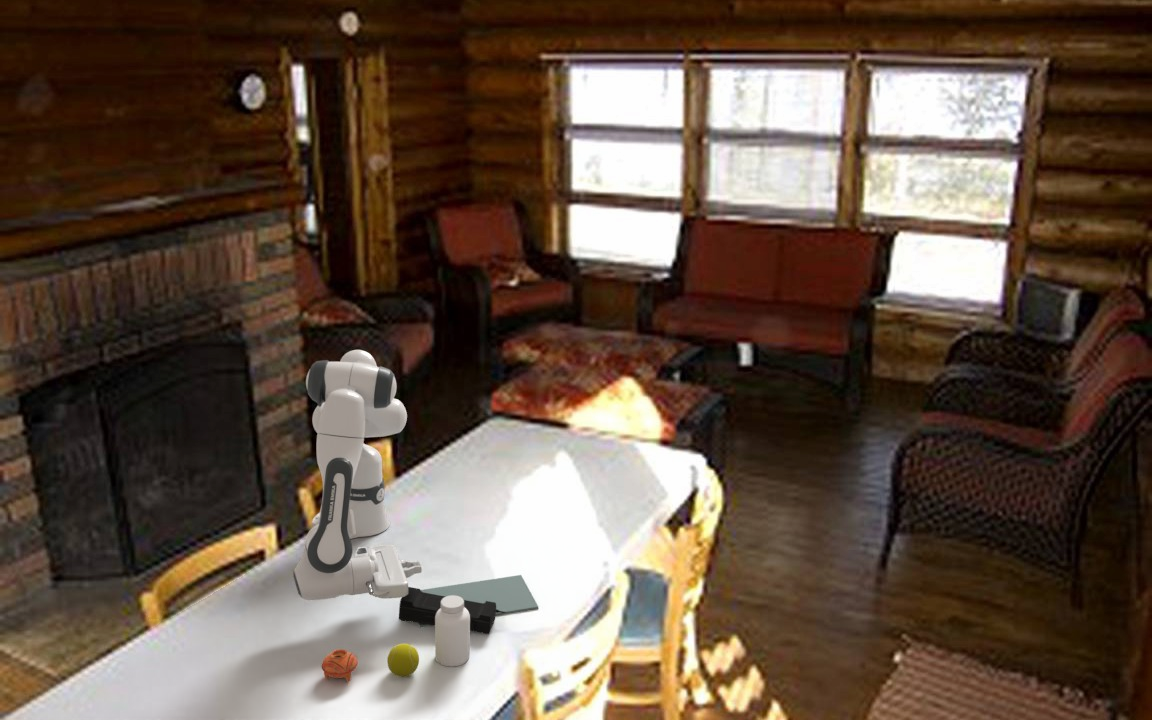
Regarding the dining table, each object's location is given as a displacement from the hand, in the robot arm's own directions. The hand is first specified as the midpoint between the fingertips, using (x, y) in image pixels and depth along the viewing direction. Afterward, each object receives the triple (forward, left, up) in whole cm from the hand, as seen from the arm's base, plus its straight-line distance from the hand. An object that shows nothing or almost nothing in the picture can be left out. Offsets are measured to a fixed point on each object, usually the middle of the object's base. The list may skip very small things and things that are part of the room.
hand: (420, 566), depth 251 cm
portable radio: (-2, -6, -8) cm, 10 cm away
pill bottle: (+17, -14, -12) cm, 25 cm away
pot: (-2, -31, -12) cm, 34 cm away
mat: (+10, +9, -12) cm, 18 cm away
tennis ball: (+10, -24, -12) cm, 29 cm away
